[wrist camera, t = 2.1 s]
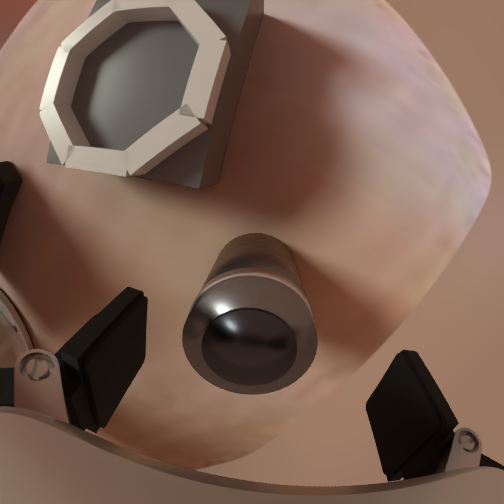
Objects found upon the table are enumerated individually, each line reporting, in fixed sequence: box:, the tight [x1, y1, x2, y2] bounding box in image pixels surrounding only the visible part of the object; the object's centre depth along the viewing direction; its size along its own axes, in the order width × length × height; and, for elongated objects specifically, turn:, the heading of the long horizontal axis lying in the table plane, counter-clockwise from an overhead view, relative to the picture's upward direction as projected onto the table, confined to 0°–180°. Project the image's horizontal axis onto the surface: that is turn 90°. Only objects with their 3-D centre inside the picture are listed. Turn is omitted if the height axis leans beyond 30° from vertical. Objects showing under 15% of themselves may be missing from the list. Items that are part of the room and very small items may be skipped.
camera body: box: [39, 0, 264, 189], centre depth 11 cm, size 12×9×7 cm
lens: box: [182, 233, 317, 394], centre depth 14 cm, size 5×5×8 cm
